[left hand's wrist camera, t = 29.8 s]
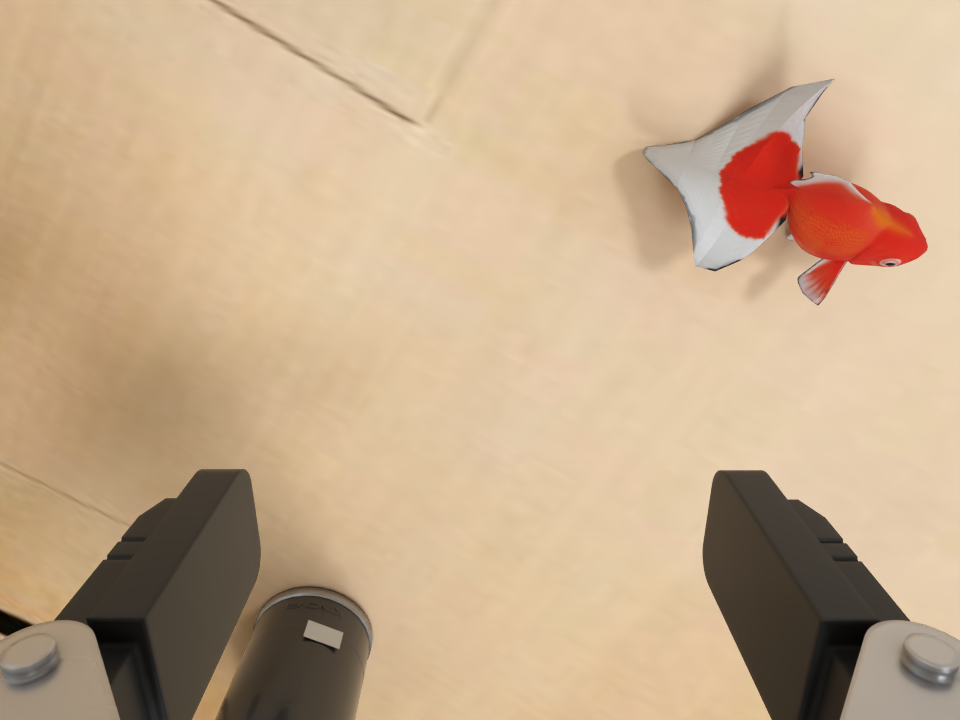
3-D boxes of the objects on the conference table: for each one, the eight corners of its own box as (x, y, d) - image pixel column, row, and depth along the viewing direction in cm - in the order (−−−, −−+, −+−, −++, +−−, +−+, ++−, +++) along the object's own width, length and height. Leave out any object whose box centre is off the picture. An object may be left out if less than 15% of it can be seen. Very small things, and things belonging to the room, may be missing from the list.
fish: (801, 377, 41) (874, 347, 31) (600, 227, 44) (609, 156, 34) (911, 245, 41) (1017, 174, 31) (704, 106, 44) (741, 2, 35)
